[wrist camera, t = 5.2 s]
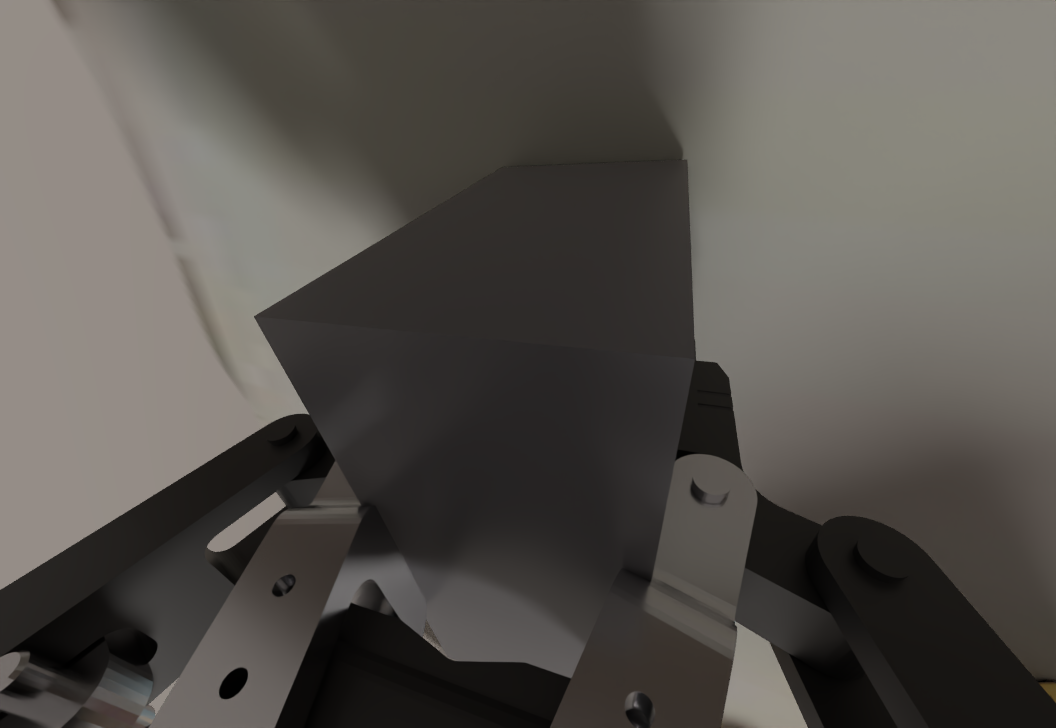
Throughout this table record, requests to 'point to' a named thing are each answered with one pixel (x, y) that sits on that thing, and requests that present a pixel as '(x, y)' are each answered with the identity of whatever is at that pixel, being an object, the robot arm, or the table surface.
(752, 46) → the table surface
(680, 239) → the block
